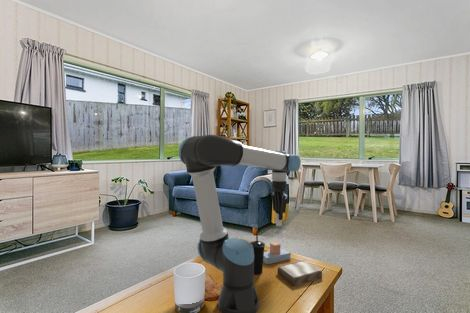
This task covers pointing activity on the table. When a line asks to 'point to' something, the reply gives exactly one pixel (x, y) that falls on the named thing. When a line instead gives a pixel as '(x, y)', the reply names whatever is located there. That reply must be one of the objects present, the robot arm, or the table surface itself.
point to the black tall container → (258, 255)
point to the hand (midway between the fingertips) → (279, 225)
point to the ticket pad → (299, 273)
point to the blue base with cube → (276, 254)
